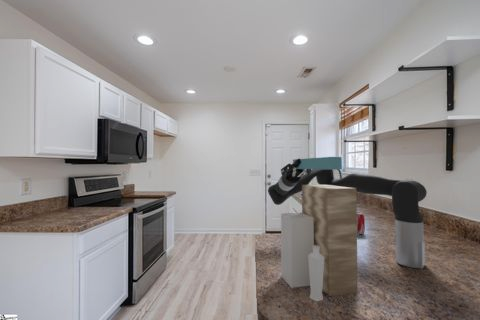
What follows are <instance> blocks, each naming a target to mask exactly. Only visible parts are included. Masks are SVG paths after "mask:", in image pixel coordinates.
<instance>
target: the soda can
mask: <svg viewBox="0 0 480 320" xmlns="http://www.w3.org/2000/svg"><path fill="white" fill-rule="evenodd" d="M365 222H366V220H365V214H364V212H360V211H357V234H362V235H364V234H365V232H366V231H365V226H366V225H365V224H366V223H365Z"/></svg>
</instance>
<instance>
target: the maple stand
mask: <svg viewBox="0 0 480 320" xmlns="http://www.w3.org/2000/svg"><path fill="white" fill-rule="evenodd" d="M357 205H358V204H357V192H356V188H350V187H342V186H333V185H320V184H308V185H302V191H301V211H302V212H301V213H304V214H306V215H309V216H311V217H314V245H318V246H319V247H320V248H319V253H320V254H321V255H323V256H324V272H323V286H322V292H324V293H325V294H327V295H328V297H333V296H339V295H345V294H351V293H352V294H353V293H358V291H359V290H358V289H359V287H358V235H357V212H358V210H357V209H358V208H357V207H358V206H357Z"/></svg>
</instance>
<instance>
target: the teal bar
mask: <svg viewBox="0 0 480 320" xmlns="http://www.w3.org/2000/svg"><path fill="white" fill-rule="evenodd" d="M342 158H343V157H342V156H326V157H325V156H324V157H310V158H299V159H300V160H301V164H300V165H299V166H298V167H296V169H311V170H312V169H332V170H343V169H342V168H343V164H342V163H343V161H342V160H343V159H342ZM297 159H298V158H296V159H294V158H293V159H292V163H294V162H295V161H296V160H297Z"/></svg>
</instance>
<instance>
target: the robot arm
mask: <svg viewBox="0 0 480 320" xmlns="http://www.w3.org/2000/svg"><path fill="white" fill-rule="evenodd" d="M296 159H297V160H296V161H295V162H294V163H293V162H292V163H288V164H286V165H284V166H283V167H282V168H281V169H280V174H281V176H280V177H279V179H278V181H277V182H276V183H275V184H272V185H270V186H269V187H268V189H267V193H268V196H270V199H271V200H272V202H273V204H275V205H276V206H279V205H281V204H283V203H285V201H287V200H288V199H289V198H291V197H293V196H294V195H296V194H299V193H302V185H310V183H311V181H312V180H314V178H315V179H316V182H317V185H333V186H342V187H350V188H356V193H361V194H367V195H378V196H379V195H384V196H389V197H391V204H392V205H391V206H392V212H393V214H394V228H395V229H394V230H395V231H394V235H395V236H394V237H395V247H394V248H395V262H396V263H397V264H399V265H402V266H404V267H407V268H413V269H421V270H423V269H424V268H425V266H426V246H425V245H426V242H425V240H424V215H423V214H422V213H421V212H420V209H419V208H420V207H419V203H420V202H421V201H423V200H425V198H427V193H428V192H427V189H426V187H425V186H424V185H423V184H422V183H420V182H419V181H416V180H407V179H405V180H403V179H402V180H401V179H392V178H386V177H382V176H377V175H372V174H369V173H368V174H367V173H361V172H353V173H350V174H348V175H345V176H344V177H342V178H335V177H334V172H333V171H334V169H296V167H298V166H299V165H300V164H301V160H300V159H301V158H296Z"/></svg>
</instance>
